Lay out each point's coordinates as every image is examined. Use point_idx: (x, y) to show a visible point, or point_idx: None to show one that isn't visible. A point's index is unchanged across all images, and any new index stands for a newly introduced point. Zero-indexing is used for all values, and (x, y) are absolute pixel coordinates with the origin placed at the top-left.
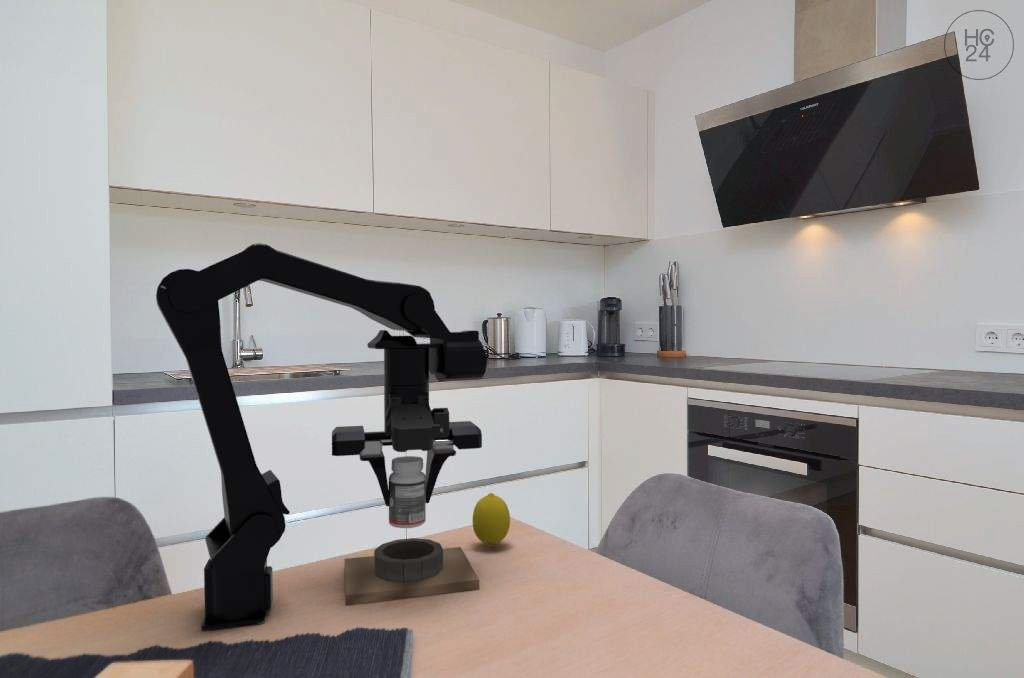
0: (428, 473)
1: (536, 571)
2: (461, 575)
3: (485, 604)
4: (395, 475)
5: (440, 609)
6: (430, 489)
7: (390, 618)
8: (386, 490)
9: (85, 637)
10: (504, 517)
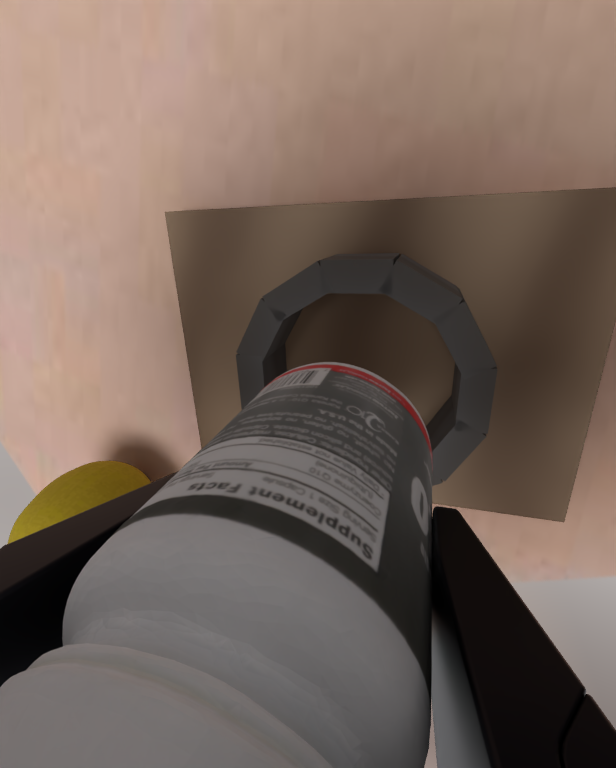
0: (22, 633)
1: (45, 293)
2: (213, 261)
3: (169, 90)
4: (351, 725)
5: (303, 77)
6: (116, 508)
7: (486, 24)
8: (467, 588)
9: None
10: (40, 493)
